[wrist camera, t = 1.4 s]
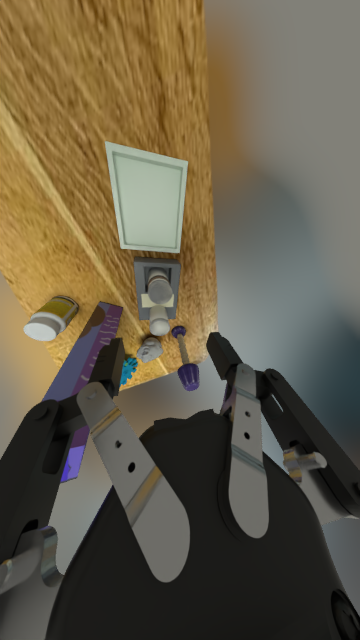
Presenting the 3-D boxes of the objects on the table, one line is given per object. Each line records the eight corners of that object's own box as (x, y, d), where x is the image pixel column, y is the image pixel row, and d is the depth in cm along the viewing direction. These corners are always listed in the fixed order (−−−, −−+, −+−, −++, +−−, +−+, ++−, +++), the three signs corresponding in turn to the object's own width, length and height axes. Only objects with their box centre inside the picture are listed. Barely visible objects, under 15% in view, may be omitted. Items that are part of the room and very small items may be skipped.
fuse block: (135, 256, 24) (130, 272, 17) (176, 259, 26) (188, 274, 19) (140, 310, 31) (138, 337, 24) (172, 309, 33) (180, 335, 26)
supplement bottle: (45, 297, 25) (10, 323, 19) (71, 293, 26) (45, 318, 19) (60, 316, 28) (35, 345, 22) (83, 313, 29) (65, 340, 22)
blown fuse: (147, 265, 25) (147, 281, 18) (166, 266, 25) (173, 282, 19) (148, 283, 27) (148, 304, 20) (165, 284, 28) (171, 304, 21)
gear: (138, 375, 45) (111, 397, 37) (127, 366, 47) (99, 385, 39) (139, 351, 40) (108, 371, 32) (127, 342, 42) (95, 359, 34)
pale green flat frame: (108, 148, 16) (104, 141, 15) (184, 166, 19) (187, 161, 17) (122, 246, 23) (120, 248, 21) (177, 251, 25) (179, 253, 24)
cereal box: (99, 301, 28) (7, 459, 9) (123, 307, 30) (83, 448, 11) (91, 352, 36) (34, 489, 18) (110, 354, 38) (76, 480, 20)
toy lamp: (170, 337, 39) (181, 395, 26) (169, 326, 36) (181, 384, 23) (185, 335, 40) (203, 390, 27) (185, 323, 37) (206, 379, 24)
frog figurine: (138, 332, 35) (136, 352, 30) (163, 332, 37) (166, 351, 32) (137, 347, 39) (135, 367, 33) (160, 346, 41) (162, 366, 35)
